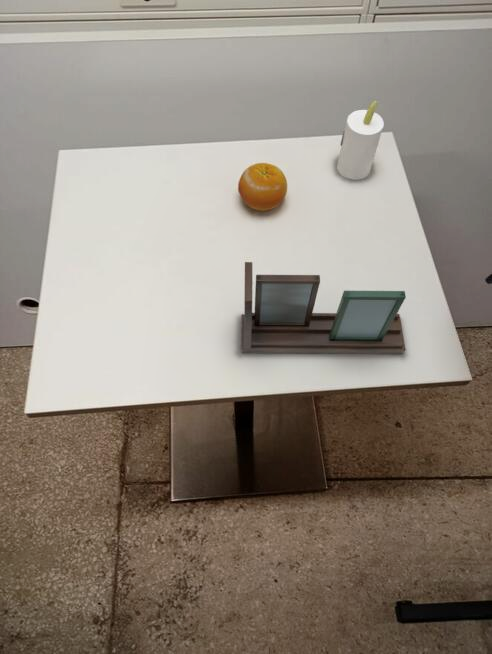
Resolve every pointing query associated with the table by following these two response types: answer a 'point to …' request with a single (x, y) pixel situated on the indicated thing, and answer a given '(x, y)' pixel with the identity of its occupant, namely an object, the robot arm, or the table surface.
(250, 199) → the fruit
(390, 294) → the sash
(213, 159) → the table surface
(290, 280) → the frame display rack
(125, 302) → the table surface
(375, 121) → the candle
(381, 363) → the table surface
